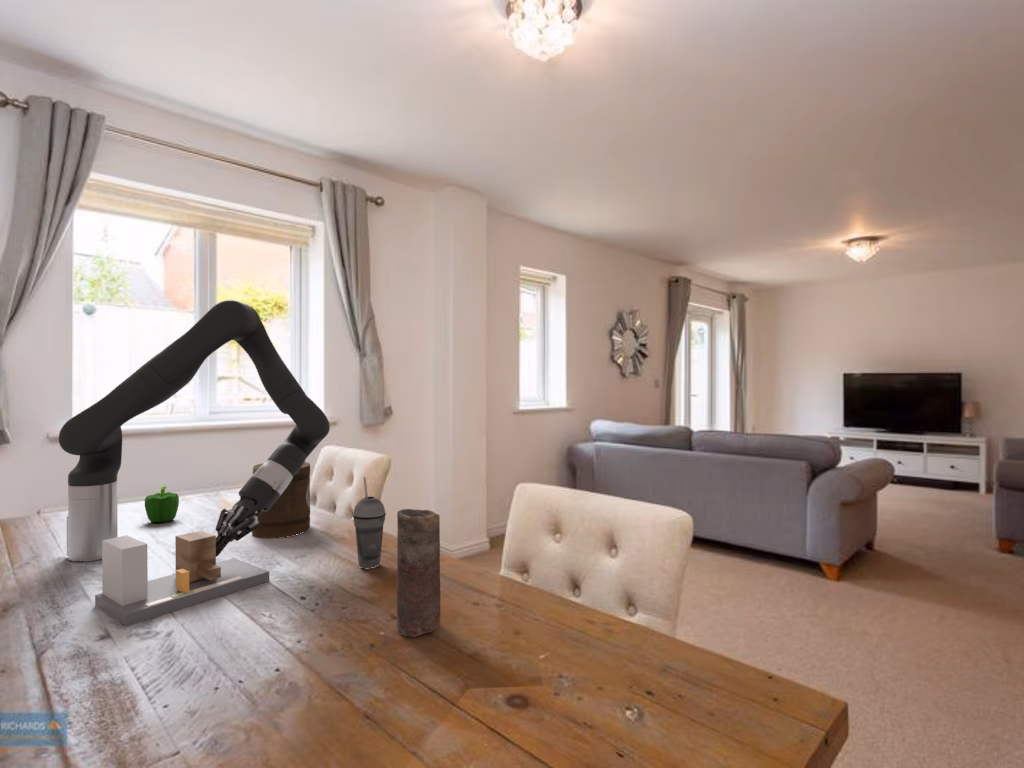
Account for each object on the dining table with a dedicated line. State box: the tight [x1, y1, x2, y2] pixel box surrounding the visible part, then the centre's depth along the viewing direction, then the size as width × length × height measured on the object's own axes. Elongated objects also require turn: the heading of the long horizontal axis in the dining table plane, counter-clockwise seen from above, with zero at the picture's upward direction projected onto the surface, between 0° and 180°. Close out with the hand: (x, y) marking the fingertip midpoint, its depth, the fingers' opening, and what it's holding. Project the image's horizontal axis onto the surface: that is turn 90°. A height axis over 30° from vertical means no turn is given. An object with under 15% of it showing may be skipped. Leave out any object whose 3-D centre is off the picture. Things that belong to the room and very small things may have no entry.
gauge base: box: [94, 535, 270, 627], centre depth 109 cm, size 26×14×12 cm, turn 144°
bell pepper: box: [144, 485, 180, 523], centre depth 162 cm, size 8×8×10 cm
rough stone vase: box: [396, 508, 442, 638], centre depth 94 cm, size 8×7×20 cm
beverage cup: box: [352, 476, 387, 568], centre depth 125 cm, size 7×7×20 cm
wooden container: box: [251, 461, 311, 539], centre depth 153 cm, size 15×15×22 cm
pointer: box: [175, 569, 189, 593], centre depth 104 cm, size 1×4×4 cm, turn 54°
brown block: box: [175, 530, 221, 582], centre depth 111 cm, size 5×11×8 cm, turn 55°
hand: (211, 554), depth 115 cm, fingers closed
